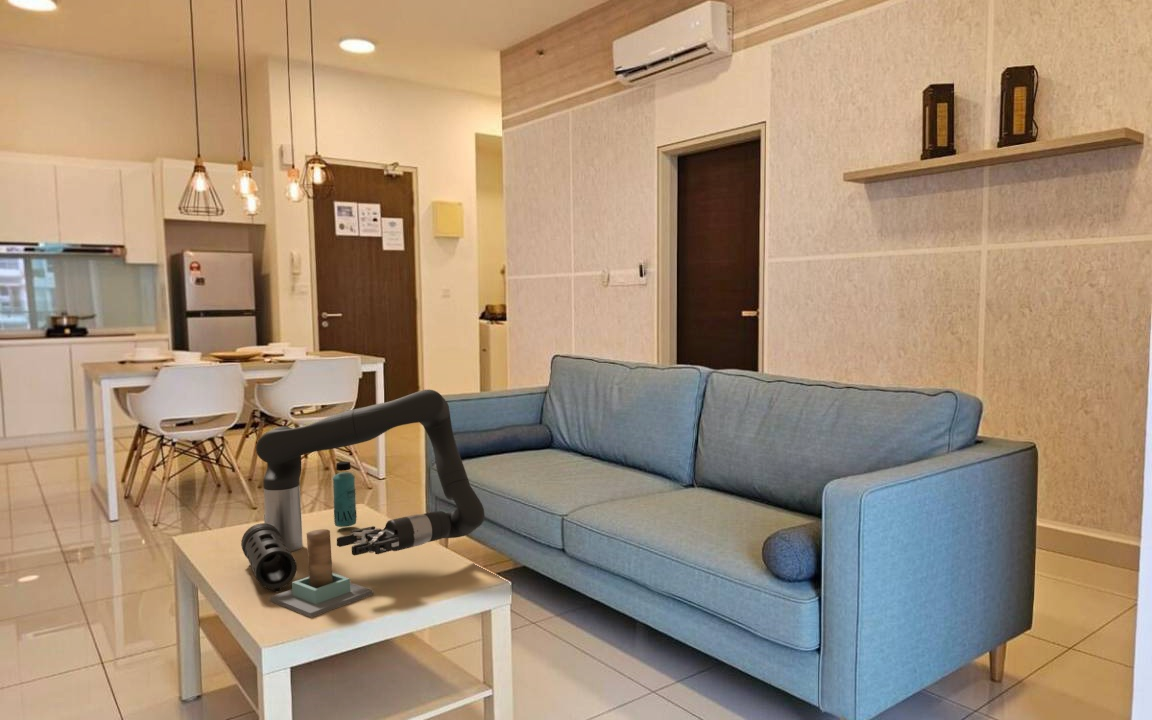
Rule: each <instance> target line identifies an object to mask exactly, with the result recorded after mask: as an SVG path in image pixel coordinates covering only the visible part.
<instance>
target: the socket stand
mask: <svg viewBox="0 0 1152 720" xmlns="http://www.w3.org/2000/svg"><path fill="white" fill-rule="evenodd" d="M332 575H333V583H331V584H328V585H325V586H322V587H319V588H314V587H311V586H310V582H309V576H307V577H304V578H301V579H298V580H295V581H291V589H289V590H286V591H285V590H284V591H282V592H280V593H276V594H273V595H270V596H269V602H272V603H274V604H276V605H278V606H281V607H283V608H286V609H289V610H291V611H293V610H294V611H293V612H296V613H297V614H298V613H299V614H300V613H301V615H303V616H306V617H308V618H310V619H312V618H313V617H316V616H319V615H321V614H325V613H327V612H330V611H333V610H334V609H338V608H340V607H343V606H345V605H349V604H352V603H354V602H357V601H359V600H362V599H364V598H367V597H370V596H373V595H374V590H373V589H371V588H368V587H365V586H361V585H359V584H356V583H354V582H351V579H350V578H349V577H346V576H343V575H341V574H337V573H334V572H332ZM332 609H333V610H332Z"/></svg>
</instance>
